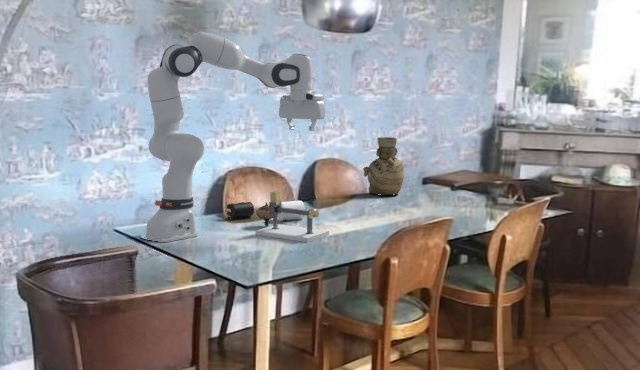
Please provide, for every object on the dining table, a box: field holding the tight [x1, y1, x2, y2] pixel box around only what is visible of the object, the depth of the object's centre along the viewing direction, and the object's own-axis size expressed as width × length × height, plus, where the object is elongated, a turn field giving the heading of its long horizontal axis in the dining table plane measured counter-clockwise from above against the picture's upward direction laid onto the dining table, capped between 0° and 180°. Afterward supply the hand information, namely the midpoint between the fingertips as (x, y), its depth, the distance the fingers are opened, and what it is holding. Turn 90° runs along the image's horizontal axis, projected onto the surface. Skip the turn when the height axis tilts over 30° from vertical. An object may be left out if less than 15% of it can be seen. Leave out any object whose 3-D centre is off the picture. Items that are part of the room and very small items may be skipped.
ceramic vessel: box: [363, 136, 405, 195], centre depth 365 cm, size 19×21×30 cm
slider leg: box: [268, 190, 282, 228], centre depth 272 cm, size 4×3×14 cm, turn 148°
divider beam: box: [268, 207, 320, 233], centre depth 268 cm, size 2×22×10 cm, turn 58°
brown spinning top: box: [255, 202, 273, 227], centre depth 284 cm, size 8×8×10 cm
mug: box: [277, 200, 306, 222], centre depth 296 cm, size 12×10×8 cm
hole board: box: [255, 223, 330, 243], centre depth 269 cm, size 15×24×2 cm, turn 58°
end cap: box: [226, 201, 255, 220], centre depth 301 cm, size 10×7×7 cm
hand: (301, 130), depth 279 cm, fingers open, 8 cm apart
